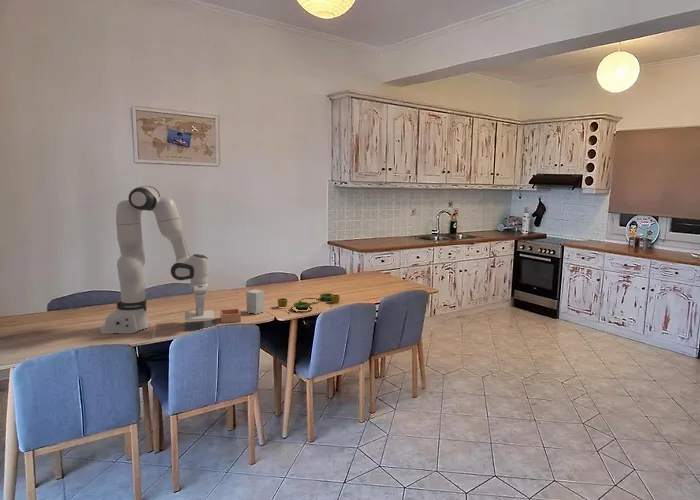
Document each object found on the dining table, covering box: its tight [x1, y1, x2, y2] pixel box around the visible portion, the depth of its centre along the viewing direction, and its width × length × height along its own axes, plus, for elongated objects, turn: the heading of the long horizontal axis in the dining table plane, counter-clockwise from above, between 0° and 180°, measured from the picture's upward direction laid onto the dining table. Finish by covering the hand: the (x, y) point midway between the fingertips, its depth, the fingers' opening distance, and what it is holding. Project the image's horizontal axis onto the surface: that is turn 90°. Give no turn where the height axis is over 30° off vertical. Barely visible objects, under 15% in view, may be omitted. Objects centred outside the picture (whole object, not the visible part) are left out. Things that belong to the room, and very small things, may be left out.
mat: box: [184, 319, 219, 332], centre depth 238 cm, size 16×16×1 cm
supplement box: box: [245, 288, 265, 315], centre depth 264 cm, size 7×7×13 cm
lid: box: [184, 307, 215, 322], centre depth 237 cm, size 14×14×4 cm
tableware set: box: [277, 292, 341, 313], centre depth 283 cm, size 41×28×6 cm
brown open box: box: [219, 308, 242, 324], centre depth 248 cm, size 10×10×5 cm
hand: (199, 312), depth 237 cm, fingers closed on lid, 3 cm apart
